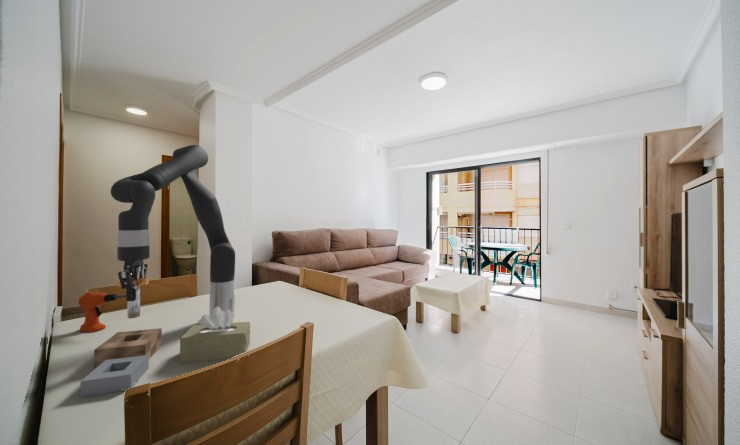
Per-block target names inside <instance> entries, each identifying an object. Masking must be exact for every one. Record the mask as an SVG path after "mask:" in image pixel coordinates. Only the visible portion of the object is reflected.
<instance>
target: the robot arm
mask: <svg viewBox="0 0 740 445" xmlns="http://www.w3.org/2000/svg"><path fill="white" fill-rule="evenodd" d="M208 163H209V156H208V153H207V151H206V150H205V149H204V148H203V146H200V145H198V144H190V145H187V146H183V147H180V148H176V149H175V150H173V153H172V159H170V160H167V161H165V162H164V161H163V162H162V163H159V164H156V165H154V166H152V167H150V168H149V169H147V170H145V171H143V172H139V173H137V174H133V175H130V176H127V177H124V178H121V179H119V180H117V181H115V182H114V183H113V184H112V186H111V187H110V194H111V197H112V198H113V199H114V200H115V201H117V202H118V203H123V204H131V207H130V209H128V210H124V211H121V212H119V214H118V217H117V219H118V220H117V221H118V224H117V225H118V230H117V232H118V233H117V237H116V238H117V239H116V240H117V241H116V242H117V243H116V245H117V247H116V248H117V249H116V251H117V256H116V259H117V261H119V262H124V263H123V267H122V271H118V273H117V276H118V280H120V284H121V289H122V290H125V295H126V297H125V298H126V299H125V300H126V302H127V301H135V300H136V287H137V286H136V285H137V281H138V280H139V278H145V277H147V271H148V266H149V265H148V263H144V260H147V259H150V257H151V256H150V252H151V251H150V246H151V245H150V242H151V240H150V239H151V238H150V237H151V236H150V232H149V229H150V228H149V217H150V214H151V212H152V208H153V205H154V202H155V199H156V192H157V191H160V190H162V189H164V188H165V187H167V186H168V185H170V184H171V183H172V182H175V181H176V180H177V179H179V178H181V180H182V182H183V184H184V186H185V189H186V191H187V194H188V197H189V199H190V202H191V206H192V208H193V211H194V214H195V216H196V218H197V221H198V223H199V224H200V227H201V228H202V230H203V232H204V234H205V235H206V238H207V241H208V245H209V249H210V256H209V257H210V258H209V259H210V260H209V261H210V263H209V264H210V266H209V278H210V279H209V306H208V307H209V309H208V310H209V311H208V312H209V314H208V315H210V314H211V312H212V311H213V310H214V308H216V307H220V309H221V311H224V312H225V311H226V310H230V311H231V313H233V314H234V315H233V318H234V317H235V302H236V301H235V299H236V298H235V275H236V274H235V273H236V250H235V248H234V247H233V246H232V244H231V242H230V240H229V237H228V235H227V233H226V230H225V226H224V220H223V219H224V218H223V215H222V211H221V208H220V206H219V202H218V199H217V197H216V196H215V194H213V193H212V192H211V191H210V190H209V189H208V188H207V187H206V186H204V184H202V182H201V181H200V180H199V177H198V175H197V174H196V173H197V172H196V170H197V169H201V168H204V167H205V166H206V165H207V164H208ZM132 278H134V279H132ZM141 296H142V285H140V298H141Z"/></svg>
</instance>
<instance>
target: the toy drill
mask: <svg viewBox="0 0 740 445" xmlns="http://www.w3.org/2000/svg"><path fill="white" fill-rule="evenodd" d="M122 298H126V294H120V295H119V294H116V293H107V292H92V291H87V292H86V293H84V294H83V295H81V296H80V297H79V299H78V302H77V303H78V305H79V306H80V307H81V308H83V309H84V315H85V317H84V322H83V324H81V325H80V327H79V332H83V333H94V332H95V333H96V332H99V331H103V330H105V329H106V327H107V326H106V324H104V323H102V322H100V316H101V315H102V314H103V313H102V312H101V310H100V308H99V306H101V305H104V304H106V303H109V302H113V301H116V300H118V299H122Z"/></svg>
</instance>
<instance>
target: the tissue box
mask: <svg viewBox="0 0 740 445" xmlns="http://www.w3.org/2000/svg"><path fill="white" fill-rule="evenodd" d="M233 315H234V316H235V313H234V314H233V313H231V311H230V310H226V311H225V312H224V311H221V309H220V307H216V308H214V310H213V311H212V312H211V314H210V315H209V314H203V315H202V316H201V318H200V319H199V320H198V321H197V323H198V324H197V325H191V327H189V329H188V330H187V331H186V332H185V333H184V334H183V335H182V337H180V339H179V340H180V341H179V364H189V363H197V362H198V363H200V362H210V360H211V361H219V360H228V359H229V358H231V359H233V358H232V357H234V356H236V355H239V354H241V353H244V352H246V353H247V350H248V348H249V345H250V341H251V336H250V335H251V322H250V321H243V322H241V321H239V322H233V320H234V317H233ZM218 359H219V360H218ZM229 360H230V359H229Z"/></svg>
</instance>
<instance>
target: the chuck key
mask: <svg viewBox="0 0 740 445" xmlns="http://www.w3.org/2000/svg"><path fill="white" fill-rule="evenodd" d="M132 279H134V278H132ZM149 284H150V277H149V276H148V277H147V276H146V277H145V278H139V280H138V281H137V285H136V286H137V287H136V300H135V301H126V302H127V306H126V307H127V319H136V318H139V317H140V316H141V297H140V285H141V286H147V285H149ZM117 287H118V288H120V287H121V284H120V280H119V279H118V280H117Z"/></svg>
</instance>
